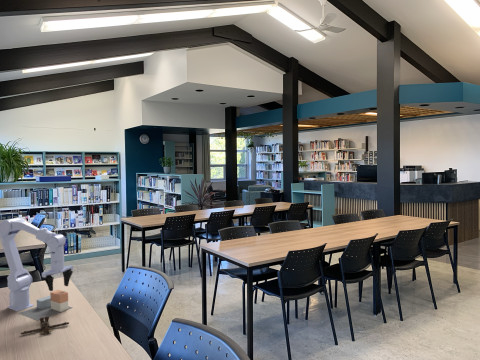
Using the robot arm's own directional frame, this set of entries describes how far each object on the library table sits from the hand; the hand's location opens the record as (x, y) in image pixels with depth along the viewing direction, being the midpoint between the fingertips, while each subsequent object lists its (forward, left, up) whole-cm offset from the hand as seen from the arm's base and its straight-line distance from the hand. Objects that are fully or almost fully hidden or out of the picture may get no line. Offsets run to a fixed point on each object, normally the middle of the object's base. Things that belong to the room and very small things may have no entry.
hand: (58, 288), depth 174 cm
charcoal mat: (-4, -4, -10) cm, 12 cm away
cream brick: (0, 0, -10) cm, 10 cm away
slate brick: (-9, -1, -10) cm, 14 cm away
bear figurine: (+14, -15, -11) cm, 24 cm away
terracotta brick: (0, 0, -6) cm, 6 cm away
